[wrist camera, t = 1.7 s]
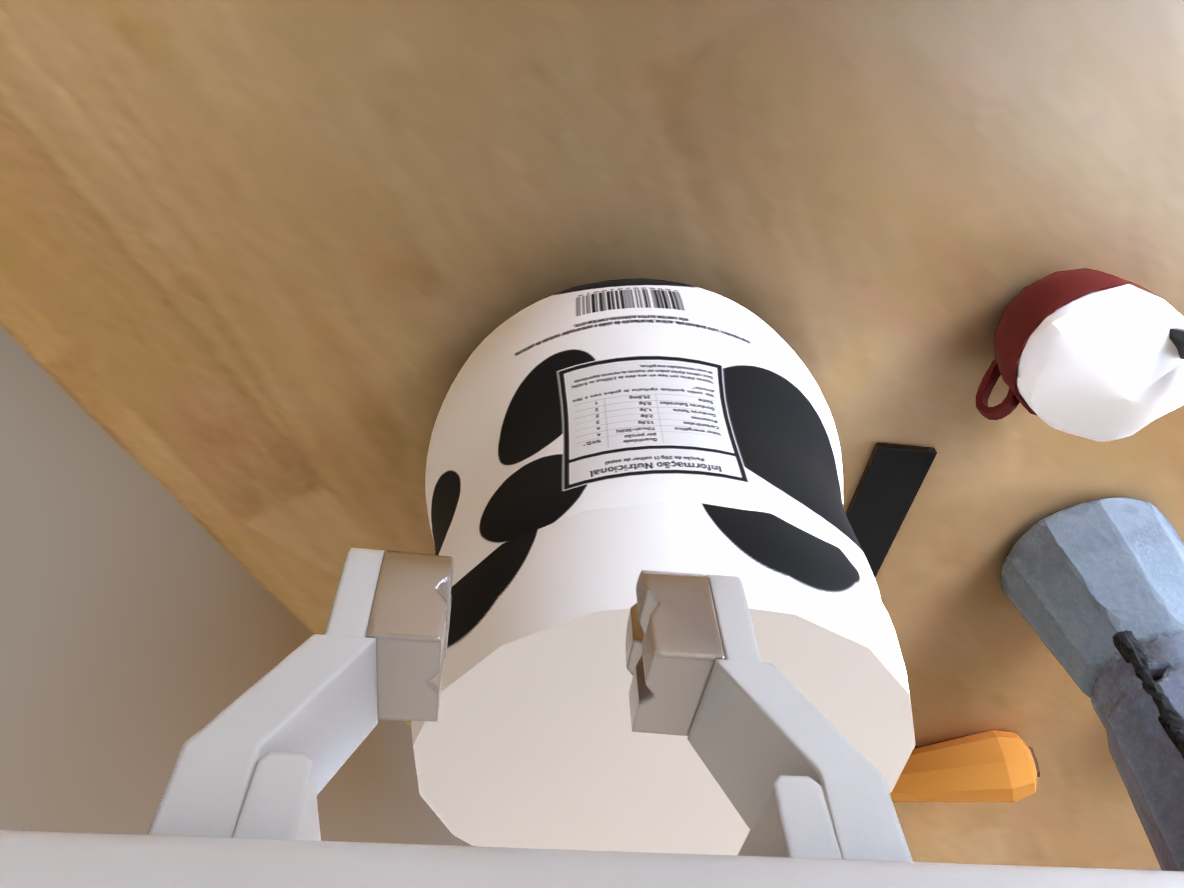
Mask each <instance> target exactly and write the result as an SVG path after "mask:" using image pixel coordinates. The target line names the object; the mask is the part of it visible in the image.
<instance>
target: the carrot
mask: <svg viewBox="0 0 1184 888" xmlns="http://www.w3.org/2000/svg"><path fill="white" fill-rule="evenodd" d="M1037 777H1040V771H1039V767H1038V763H1037V759H1036V757H1035V754H1034V751H1033V749H1032V748H1031V747H1027V746H1026V744H1025V743H1024V742H1023V741H1022V739H1021V738H1020V737H1019V736H1018V735H1017V733H1014V732H1005V731H996V730H990V731H986V732H982V733H978V734H974V735H969V736H965V737H961V738H957V739H953V740H949V741H944V742H940V743H936V744H932V745H928V746H924V747H919V748H915V749H913V751H912V753H911V755H910V757H909V759H908V761H907V763H906V765H905V767H904V769H903V771H902V773H901V774H900V776H899V778H898V780H897V782H896V784H895V786H894V788H893V790H892V792H891V793H890V796H891V799H892V801H893V802H1015V801H1018V800H1020V799H1023V798H1025V797H1028V796H1031V795H1033V794H1035V789H1036V781H1037Z"/></svg>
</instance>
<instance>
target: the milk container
mask: <svg viewBox="0 0 1184 888" xmlns="http://www.w3.org/2000/svg"><path fill="white" fill-rule="evenodd" d="M425 492H426V503H427V510H428V517H429V524H430V528H431V533H432V537H433V542H434V546H435V551H436V553H435V555H440V556H450V557H453V578H452V586H451V595H452V599H451V612H450V624H449V633H448V642H447V651H446V657H445V658H444V667H443V682H442V690H441V697H440V705H439V712H438V719H437V721H411V726H412V739H413V749H414V756H415V764H416V772H417V778H418V785H419V794H420V795H421V797H422V798H423V799H424V800H425V802H426V803H427V804H428V805H429V806H430V808H431V809H432V810H433V811H434V812H435V814H436V815H437V816H438V817H439V819H440V820H441V821H442V822H443V823H444V825H445V826H446V827H447V828H448V829H449V831H450V832H451V833H452V834H453V835H454V836H456V837H458V838H460V839H461V840H463V841H465V842H467V843H469V844H470V845H472V846H477V847H506V848H534V849H562V850H590V851H619V852H648V853H677V854H706V855H735V856H737V855H738V853H739V851H740V849H741V847H742V845H743V843H744V841H745V839H746V837H747V835H748V833H749V831H750V829H749V828H748V826H747V825H746V823H745V822H744V820H743V819H742V817H741V816H740V815H739V813H738V812H737V810H736V809H735V807H734V806H733V804H732V803H731V802H730V800H729V799H728V797H727V796H726V794H725V793H724V791H723V790H722V789H721V787H720V786H719V784H718V783H717V781H716V780H715V778H714V777H713V776H712V774H711V773H710V771H709V770H708V768H707V767H706V765H705V764H704V763H703V761H702V760H701V758H700V757H699V755H698V754H697V752H696V751H695V750H694V748H693V747H692V745H691V744H690V742H689V741H688V739H687V737H688V736H680V735H668V734H655V733H642V732H632V725H631V714H630V703H629V690H630V686H631V682H632V679H633V675H632V674H631V673H630V672H629V670H628V669H627V667H626V643H625V640H626V631H627V622H628V617H629V613H630V608H631V607H632V606H633V605H635V604H636V603H637V597H636V584H637V581H638V577H639V575H640V573H641V571H642V570H647V571H662V572H678V573H693V574H704V575H706V574H708V575H723V576H738V577H739V578H740V580H741V581H742V583H743V587H744V591H745V595H746V599H747V604H748V608H749V612H750V616H751V620H752V624H753V628H754V632H755V636H756V640H757V644H758V648H759V652H760V656H761V660H762V662H766V663H772V664H773V665H774V666H775V667H776V668H777V669H778V670H779V671H780V672H781V673H782V674H783V675H784V676H785V677H786V678H787V679H788V680H789V681H790V682H791V683H792V684H793V685H794V686H795V687H796V688H797V689H798V690H799V692H800V693H801V694H802V695H803V696H804V697H805V698H806V699H807V700H808V701H809V702H810V703H811V704H812V705H813V706H814V707H815V708H816V709H817V710H818V711H819V712H820V713H821V714H822V715H823V716H824V717H825V718H826V719H827V720H828V721H829V722H830V723H831V724H832V725H833V726H834V727H835V728H836V729H837V730H838V731H839V732H840V733H841V734H842V735H843V736H844V737H845V738H846V739H847V740H848V741H849V742H850V743H851V744H852V745H853V746H854V747H855V749H856V750H857V751H858V752H859V753H860V754H861V755H862V756H863V757H864V758H865V759H866V760H867V761H868V762H869V763H870V764H871V765H872V766H873V767H874V768H875V769H876V770H877V771H878V772H879V773H880V774H881V775H882V776H883V777H884V778H885V781H886V784H887V787H888V790H889V793H891V792H892V790H893V788H894V786H895V784H896V782H897V780H898V778H899V776H900V774H901V773H902V771H903V769H904V767H905V765H906V763H907V761H908V759H909V757H910V755H911V753H912V751H913V749H914V747H915V745H916V744H915V735H914V727H913V718H912V709H911V700H910V692H909V686H908V679H907V672H906V668H905V665H904V661H903V657H902V654H901V650H900V646H899V642H898V639H897V635H896V631H895V629H894V626H893V624H892V621H891V619H890V617H889V614H888V612H887V610H886V609H885V607H884V605H883V603H882V602H881V597H880V592H879V588H878V585H877V583H876V580H875V577H874V575H873V572H872V570H871V568H870V566H869V563H868V561H867V559H866V557H865V555H864V552H863V550H862V548H861V546H860V544H859V542H858V540H857V538H856V536H855V534H854V531H853V529H852V527H851V525H850V523H849V521H848V518H847V516H846V513H845V510H844V506H843V468H842V457H841V448H840V443H839V439H838V434H837V431H836V427H835V423H834V421H833V418H832V415H831V412H830V409H829V407H828V405H827V403H826V401H825V399H824V396H823V394H822V392H821V390H820V388H819V386H818V384H817V383H816V381H815V380H814V378H813V376H812V375H811V373H810V372H809V370H808V369H807V367H806V366H805V364H804V363H803V362H802V361H801V359H800V358H799V357H798V356H797V354H796V353H795V352H794V351H793V349H792V348H791V347H790V346H789V345H788V344H787V343H786V342H785V341H784V340H783V339H782V338H781V337H780V336H779V335H778V334H777V333H776V332H775V331H774V330H773V329H772V328H771V327H770V326H769V325H768V324H766V323H765V322H764V321H763V320H762V319H760V318H759V317H758V316H757V315H755V314H754V313H752V312H751V311H749V310H748V309H746V308H745V307H743V306H741V305H739V304H737V303H736V302H734V301H732V300H730V299H728V298H726V297H723V296H721V295H719V294H716V293H714V292H711V291H708V290H705V289H702V288H699V287H695V286H691V285H687V284H683V283H677V282H671V281H664V280H654V279H643V278H642V279H622V280H610V281H603V282H597V283H591V284H586V285H582V286H577V287H573V288H570V289H567V290H565V291H562V292H559V293H556V294H554V295H551V296H549V297H547V298H544V299H542V300H540V301H538V302H536V303H534V304H532V305H530V306H528V307H526V308H524V309H523V310H521V311H520V312H518V313H516V314H515V315H513V316H512V317H510V318H509V319H507V320H506V321H505V322H504V323H502V324H501V325H500V326H498V327H497V328H496V329H495V330H494V331H493V332H491V333H490V334H489V335H488V336H487V337H486V338H485V339H484V340H483V341H482V342H481V343H480V345H479V346H478V347H477V348H476V349H475V350H474V351H473V353H472V354H471V355H470V357H469V358H468V359H467V361H466V362H465V364H464V365H463V367H462V368H461V370H460V371H459V373H458V375H457V377H456V378H455V380H454V382H453V383H452V385H451V387H450V389H449V391H448V393H447V395H446V397H445V399H444V401H443V404H442V406H441V408H440V411H439V413H438V416H437V419H436V422H435V425H434V428H433V431H432V435H431V440H430V445H429V450H428V454H427V462H426V477H425Z"/></svg>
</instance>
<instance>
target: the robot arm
mask: <svg viewBox="0 0 1184 888" xmlns="http://www.w3.org/2000/svg"><path fill="white" fill-rule="evenodd" d="M452 578H453V557H450V556H440V555H430V554H420V553H410V552H400V551H389V550H386V551H383V550H373V549H363V548H353V547H351V548H350V550H349V552H348V553H347V555H346V558H345V561H344V565H343V569H342V572H341V576H340V579H339V583H338V586H337V590H336V594H335V597H334V601H333V604H332V608H331V611H330V615H329V619H328V622H327V626H326V629H325V633H324V635H322V634H313V635H312V636H311V637H310V638H309V639H307V640H306V641H305V642H304V643H303V644H301V645H300V646H299V647H298V648H297V649H295V650H294V651H293V652H292V653H291V654H290V655H289V656H287V657H286V658H285V659H284V660H283V661H281V662H280V663H279V664H278V665H277V666H275V667H274V668H273V669H272V670H271V671H269V672H268V673H267V674H266V675H265V676H263V677H262V678H261V679H260V680H259V681H257V682H256V683H255V684H254V685H253V686H251V687H250V688H249V689H248V690H247V691H246V692H244V693H243V694H242V695H241V696H240V697H238V698H237V699H236V700H235V701H234V702H232V703H231V704H230V705H229V706H228V707H227V708H225V709H224V710H223V711H222V712H221V713H219V714H218V715H217V716H216V717H215V718H213V719H212V720H211V721H210V722H209V723H207V725H205V726H204V727H203V728H202V729H200V730H199V731H198V732H197V733H196V734H194V735H193V736H192V737H191V738H190V739H188V740H187V741H186V742H185V743H184V744H183V746H182V749H181V751H180V754H179V756H178V758H177V761H176V763H175V766H174V768H173V771H172V774H171V776H170V778H169V781H168V784H167V786H166V788H165V791H164V793H163V796H162V798H161V801H160V803H159V806H158V808H157V811H156V813H155V816H154V819H153V821H152V823H151V826H150V828H149V831H148V833H147V835H138V834H111V833H83V832H54V831H26V830H0V888H1184V871H1160V870H1131V869H1103V868H1075V867H1047V866H1019V865H990V864H962V863H934V862H913V861H912V858H911V855H910V852H909V849H908V846H907V843H906V840H905V837H904V834H903V831H902V828H901V825H900V822H899V819H898V816H897V813H896V810H895V807H894V804H893V801H892V799H891V796H890V793H889V790H888V787H887V784H886V781H885V778H884V777H883V776H882V775H881V774H880V773H879V772H878V771H877V770H876V769H875V768H874V767H873V766H872V765H871V764H870V763H869V762H868V761H867V760H866V759H865V758H864V757H863V756H862V755H861V754H860V753H859V752H858V751H857V750H856V749H855V747H854V746H853V745H852V744H851V743H850V742H849V741H848V740H847V739H846V738H845V737H844V736H843V735H842V734H841V733H840V732H839V731H838V730H837V729H836V728H835V727H834V726H833V725H832V724H831V723H830V722H829V721H828V720H827V719H826V718H825V717H824V716H823V715H822V714H821V713H820V712H819V711H818V710H817V709H816V708H815V707H814V706H813V705H812V704H811V703H810V702H809V701H808V700H807V699H806V698H805V697H804V696H803V695H802V694H801V693H800V692H799V690H798V689H797V688H796V687H795V686H794V685H793V684H792V683H791V682H790V681H789V680H788V679H787V678H786V677H785V676H784V675H783V674H782V673H781V672H780V671H779V670H778V669H777V668H776V667H775V666H774V665H773V664H772V663H766V662H762V660H761V656H760V652H759V648H758V644H757V640H756V636H755V632H754V628H753V624H752V620H751V616H750V612H749V608H748V604H747V599H746V595H745V591H744V587H743V583H742V581H741V580H740V578H739V577H738V576H723V575H708V574H706V575H704V574H693V573H678V572H662V571H647V570H642V571H641V573H640V575H639V577H638V581H637V584H636V597H637V603H636V604H635V605H633V606H632V607H631V608H630V613H629V617H628V622H627V631H626V640H625V643H626V667H627V669H628V670H629V672H630V673H631V674H632V675H633V679H632V682H631V686H630V690H629V703H630V714H631V725H632V732H642V733H655V734H668V735H680V736H688V737H687V739H688V741H689V742H690V744H691V745H692V747H693V748H694V750H695V751H696V752H697V754H698V755H699V757H700V758H701V760H702V761H703V763H704V764H705V765H706V767H707V768H708V770H709V771H710V773H711V774H712V776H713V777H714V778H715V780H716V781H717V783H718V784H719V786H720V787H721V789H722V790H723V791H724V793H725V794H726V796H727V797H728V799H729V800H730V802H731V803H732V804H733V806H734V807H735V809H736V810H737V812H738V813H739V815H740V816H741V817H742V819H743V820H744V822H745V823H746V825H747V826H748V828H749V829H750V831H749V833H748V835H747V837H746V839H745V841H744V843H743V845H742V847H741V849H740V851H739V853H738V855H737V856H735V855H706V854H677V853H648V852H619V851H590V850H562V849H534V848H506V847H477V846H449V845H421V844H393V843H392V844H391V843H364V842H363V843H362V842H337V841H336V842H335V841H334V842H333V841H321V835H320V826H319V816H318V806H317V797H316V796H317V795H318V794H319V792H320V791H321V790H322V789H323V788H324V787H325V785H326V784H327V783H328V782H329V780H331V778H332V777H333V776H334V775H335V774H336V772H337V771H338V770H339V769H340V768H341V766H342V765H343V764H344V763H345V762H346V761H347V759H348V758H349V757H350V756H351V755H352V754H353V752H354V751H355V750H356V749H357V748H358V746H359V745H360V744H361V743H362V742H363V741H364V739H365V738H366V737H367V736H368V735H369V733H370V732H371V731H372V730H373V729H374V728H375V726H376V725H377V724H378V720H397V721H401V720H402V721H437V719H438V712H439V705H440V697H441V690H442V682H443V667H444V658H445V657H446V651H447V642H448V633H449V624H450V612H451V599H452V595H451V586H452Z"/></svg>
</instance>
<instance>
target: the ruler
mask: <svg viewBox="0 0 1184 888" xmlns="http://www.w3.org/2000/svg"><path fill="white" fill-rule="evenodd" d="M936 454H937V452H936V450H935V448H929V447H918V446H907V445H897V444H886V443H877V444H876V446H875V448H874V451H873V453H872V455H871V458H870V460H869V462H868V464H867V467H866V469H865V471H864V474H863V476H862V478H861V480H860V483H859V485H858V487H857V490H856V492H855V494H854V496H853V499H852V501H851V503H850V506H849V508H848V510H847V513H846V516H847V518H848V521H849V523H850V525H851V527H852V529H853V531H854V534H855V536H856V538H857V540H858V542H859V544H860V546H861V548H862V550H863V552H864V555H865V557H866V559H867V561H868V563H869V566H870V568H871V570H872V572H873V575H874V577H876V575H877V573H878V571H879V569H880V567H881V565H882V563H883V561H884V559H885V557H886V555H887V553H888V551H889V549H890V547H891V544H892V542H893V540H894V538H895V536H896V534H897V532H898V530H899V528H900V526H901V524H902V522H903V520H904V518H905V516H906V514H907V512H908V510H909V508H910V506H911V504H912V502H913V500H914V498H915V496H916V494H917V492H918V490H919V488H920V486H921V484H922V482H923V480H924V478H925V476H926V474H927V472H928V470H929V468H930V466H931V464H932V462H933V460H934V458H935V456H936Z"/></svg>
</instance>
